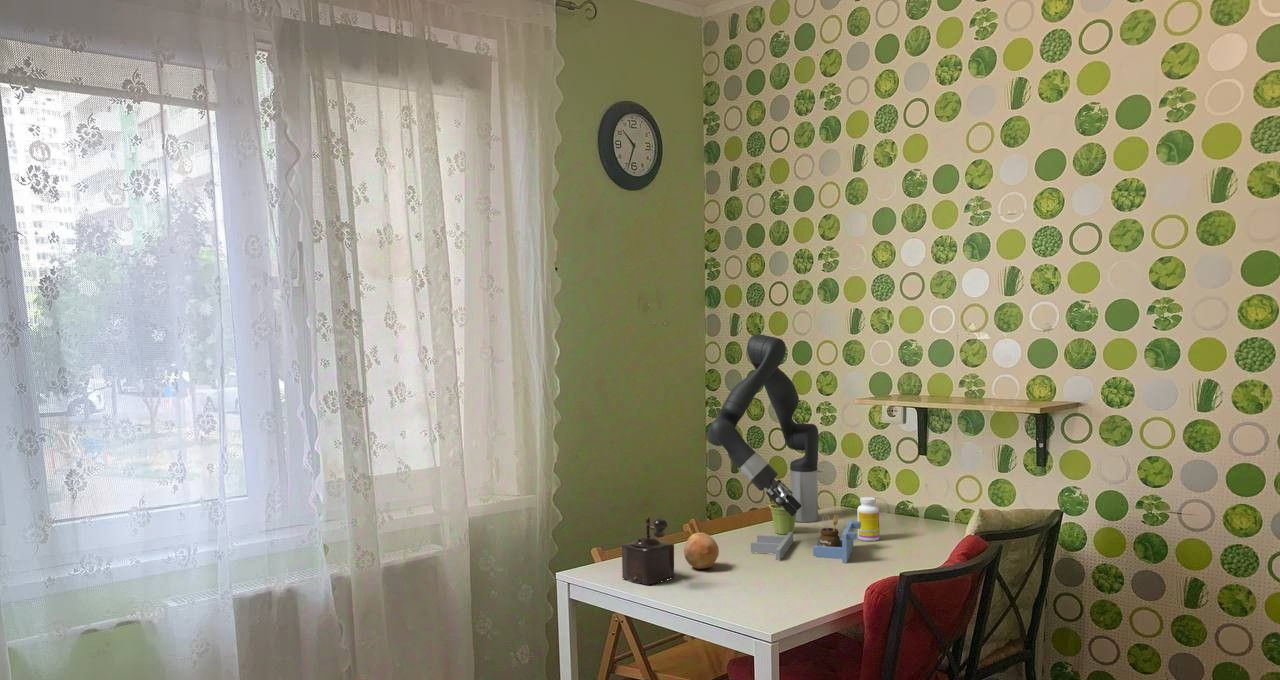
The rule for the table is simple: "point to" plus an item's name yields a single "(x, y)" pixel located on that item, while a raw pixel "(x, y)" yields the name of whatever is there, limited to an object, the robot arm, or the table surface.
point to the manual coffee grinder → (648, 556)
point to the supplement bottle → (868, 519)
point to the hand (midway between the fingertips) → (797, 511)
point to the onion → (701, 551)
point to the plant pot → (782, 520)
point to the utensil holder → (830, 535)
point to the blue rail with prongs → (845, 544)
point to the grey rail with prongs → (772, 544)
